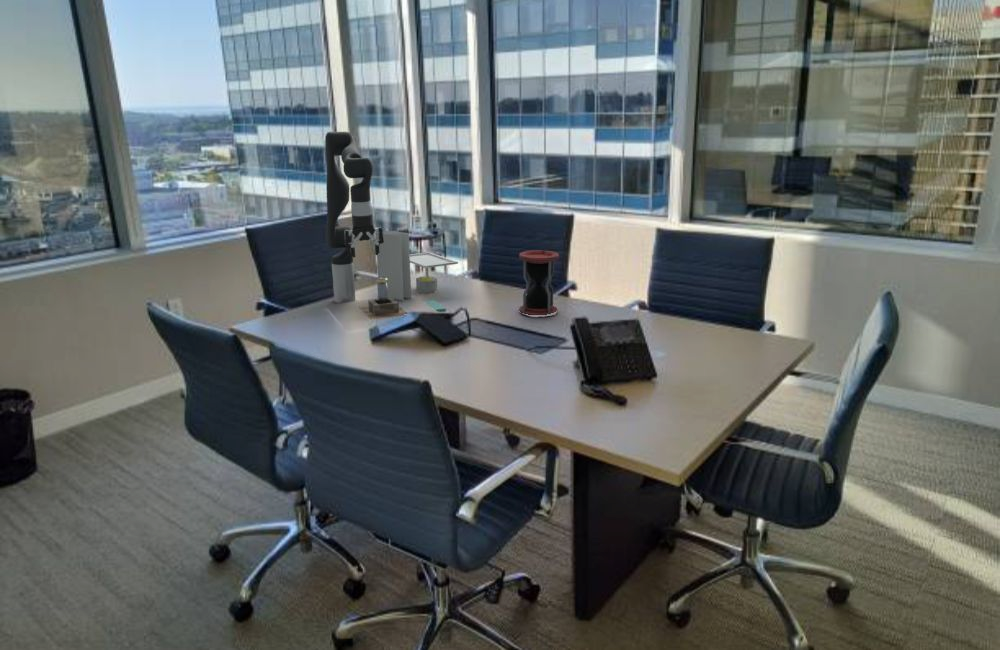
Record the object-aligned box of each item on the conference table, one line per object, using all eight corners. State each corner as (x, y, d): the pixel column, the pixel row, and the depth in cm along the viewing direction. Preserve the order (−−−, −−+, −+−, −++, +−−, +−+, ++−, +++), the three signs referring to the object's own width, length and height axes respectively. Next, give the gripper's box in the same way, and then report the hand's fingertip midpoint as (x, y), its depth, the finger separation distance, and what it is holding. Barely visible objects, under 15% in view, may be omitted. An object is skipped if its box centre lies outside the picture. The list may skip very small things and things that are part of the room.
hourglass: (565, 313, 286) (567, 254, 279) (534, 320, 277) (535, 259, 270) (541, 305, 299) (542, 248, 291) (511, 311, 290) (511, 252, 283)
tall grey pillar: (411, 300, 307) (408, 233, 298) (403, 303, 302) (400, 235, 293) (387, 295, 314) (384, 230, 305) (379, 298, 310) (375, 232, 301)
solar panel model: (458, 293, 318) (457, 261, 314) (425, 298, 309) (424, 266, 305) (429, 281, 340) (429, 251, 336) (398, 286, 331) (397, 255, 326)
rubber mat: (408, 305, 298) (408, 303, 297) (434, 302, 303) (434, 300, 302) (419, 314, 286) (418, 311, 285) (446, 310, 291) (445, 308, 290)
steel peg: (377, 310, 287) (375, 277, 283) (387, 308, 289) (385, 276, 285) (380, 312, 283) (378, 279, 279) (390, 311, 285) (388, 278, 281)
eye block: (359, 309, 292) (358, 298, 290) (395, 305, 298) (394, 293, 297) (371, 322, 275) (370, 309, 273) (409, 317, 281) (409, 305, 280)
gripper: (379, 210, 260) (382, 251, 265) (340, 212, 255) (344, 255, 261) (383, 213, 253) (386, 256, 259) (344, 216, 248) (347, 260, 254)
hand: (365, 255), depth 260 cm, fingers open, 8 cm apart
